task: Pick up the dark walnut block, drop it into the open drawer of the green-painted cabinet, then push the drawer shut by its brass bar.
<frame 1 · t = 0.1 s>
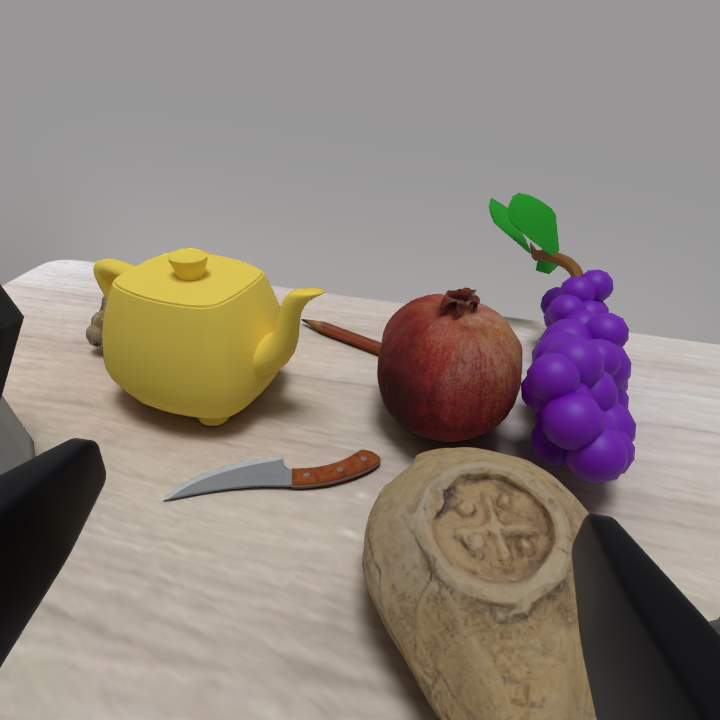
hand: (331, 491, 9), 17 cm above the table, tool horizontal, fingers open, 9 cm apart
knife: (275, 454, 33), on the table
fruit: (436, 420, 37), on the table, touching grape
teapot: (213, 391, 38), on the table
seashell: (167, 257, 47), point 5 cm above the table
oil lamp: (492, 548, 20), point 7 cm above the table
pencil: (386, 351, 43), point 1 cm above the table
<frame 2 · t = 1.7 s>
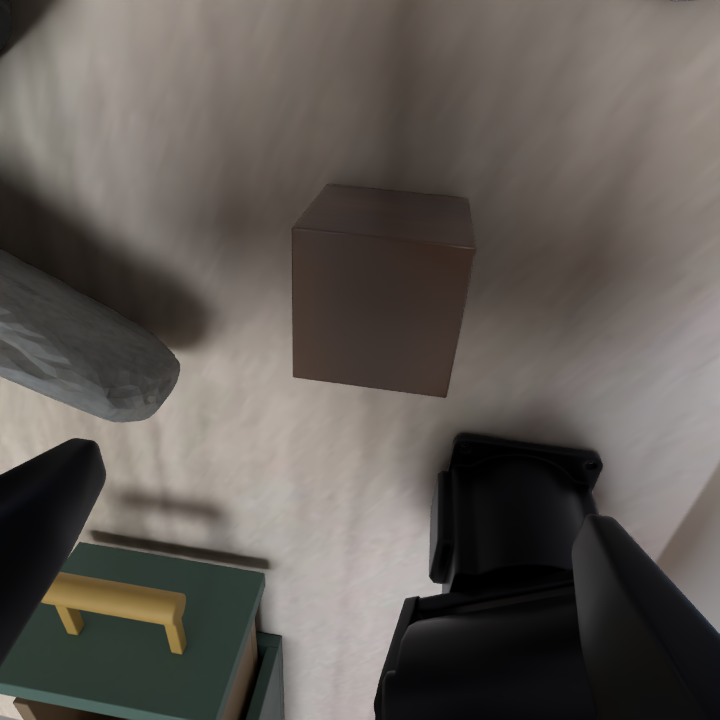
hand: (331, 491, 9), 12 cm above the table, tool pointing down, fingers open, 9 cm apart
cabinet: (203, 673, 39), on the table
block: (389, 258, 19), on the table
drawer: (150, 665, 29), point 5 cm above the table, slide at 7.0 cm
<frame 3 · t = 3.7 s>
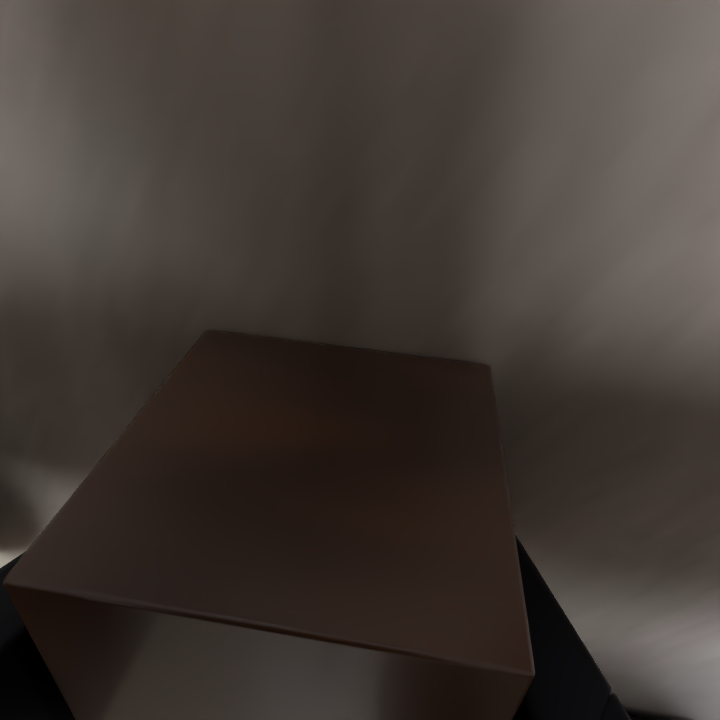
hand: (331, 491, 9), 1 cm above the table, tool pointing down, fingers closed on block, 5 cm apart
block: (339, 452, 10), on the table, touching gripper
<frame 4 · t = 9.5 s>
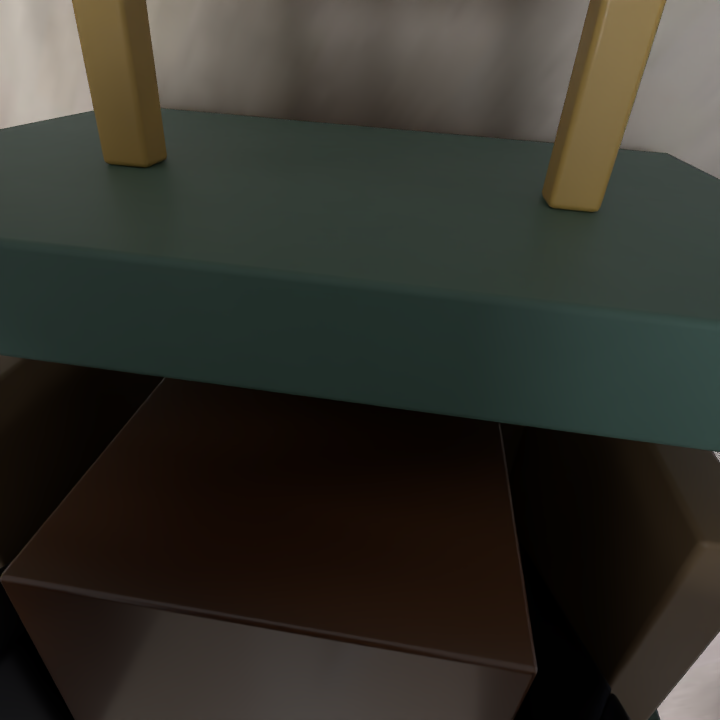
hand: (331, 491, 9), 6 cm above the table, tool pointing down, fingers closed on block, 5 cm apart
block: (339, 450, 10), point 5 cm above the table, touching gripper
drawer: (342, 420, 10), point 5 cm above the table, slide at 7.0 cm
when the fingers open (9 cm above the table, at t = 24.3 s): block drops 6 cm, resting on drawer.
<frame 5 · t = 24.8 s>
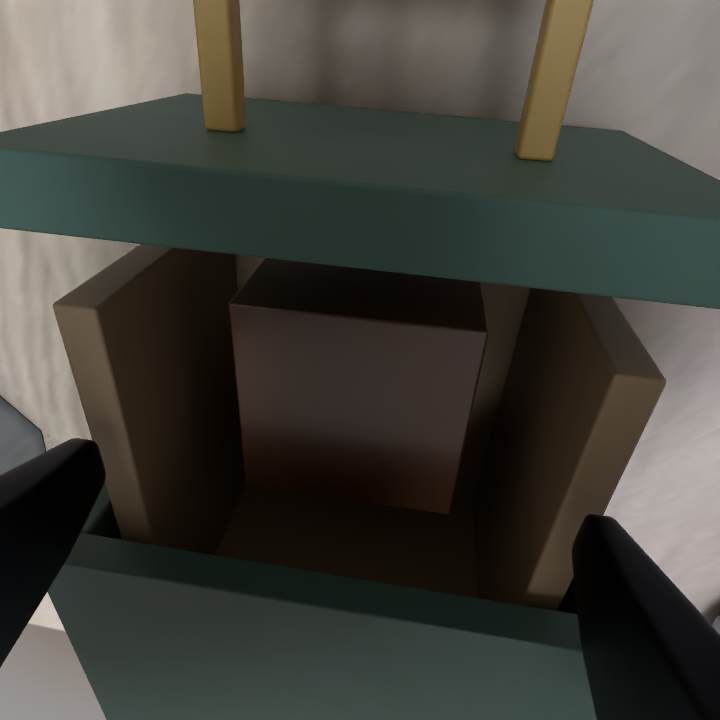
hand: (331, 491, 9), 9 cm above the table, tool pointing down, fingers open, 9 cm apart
cabinet: (362, 497, 22), on the table
block: (375, 314, 15), point 2 cm above the table, touching drawer
drawer: (365, 340, 12), point 5 cm above the table, slide at 6.9 cm, touching block
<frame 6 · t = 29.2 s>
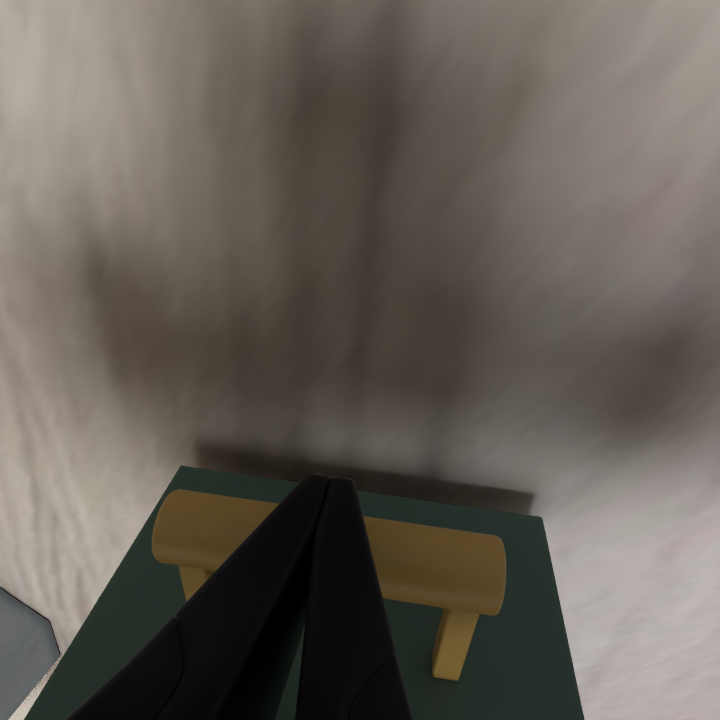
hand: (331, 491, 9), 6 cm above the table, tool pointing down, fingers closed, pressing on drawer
drawer: (329, 697, 15), point 5 cm above the table, slide at 5.8 cm, touching block, gripper
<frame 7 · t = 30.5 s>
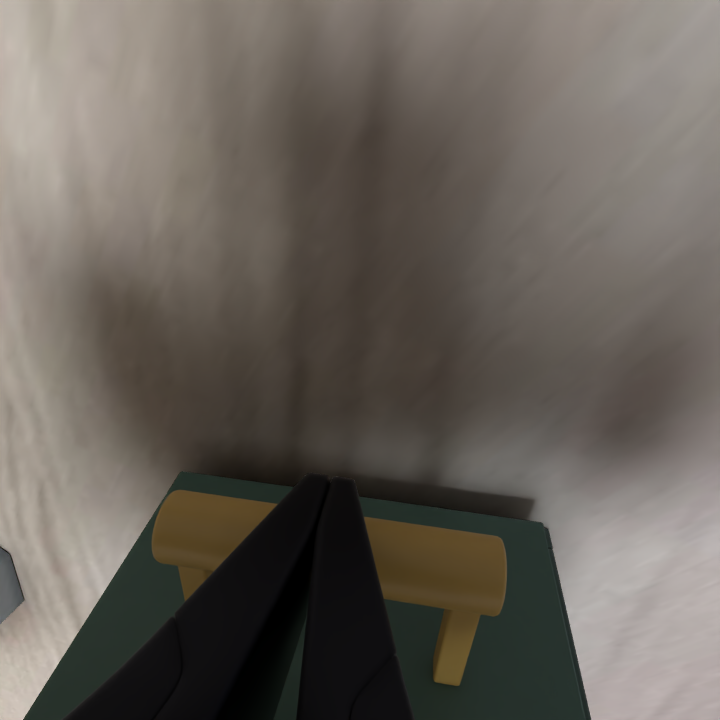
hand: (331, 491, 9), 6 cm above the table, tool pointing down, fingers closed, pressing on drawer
cabinet: (349, 626, 21), on the table
drawer: (328, 706, 15), point 5 cm above the table, slide at 0.0 cm, touching block, cabinet, gripper
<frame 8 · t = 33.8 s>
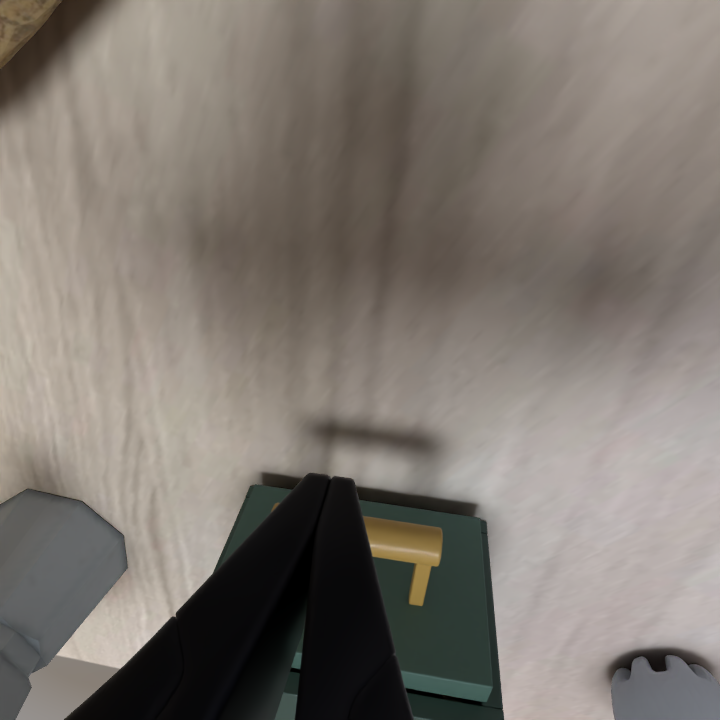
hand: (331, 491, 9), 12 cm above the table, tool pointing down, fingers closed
cabinet: (357, 585, 31), on the table
coffee maker: (64, 524, 32), on the table
bottle: (657, 670, 31), on the table
drawer: (348, 627, 25), point 5 cm above the table, slide at 0.0 cm, touching block
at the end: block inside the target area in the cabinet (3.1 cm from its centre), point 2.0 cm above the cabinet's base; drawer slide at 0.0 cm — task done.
